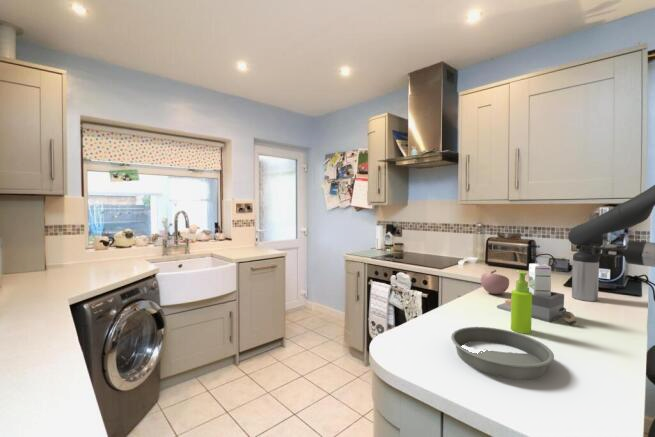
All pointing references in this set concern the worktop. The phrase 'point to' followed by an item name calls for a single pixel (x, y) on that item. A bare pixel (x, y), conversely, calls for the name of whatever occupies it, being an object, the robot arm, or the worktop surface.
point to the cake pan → (504, 353)
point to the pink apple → (494, 283)
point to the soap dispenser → (521, 306)
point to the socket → (542, 306)
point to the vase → (568, 317)
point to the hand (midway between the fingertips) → (584, 247)
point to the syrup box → (540, 279)
